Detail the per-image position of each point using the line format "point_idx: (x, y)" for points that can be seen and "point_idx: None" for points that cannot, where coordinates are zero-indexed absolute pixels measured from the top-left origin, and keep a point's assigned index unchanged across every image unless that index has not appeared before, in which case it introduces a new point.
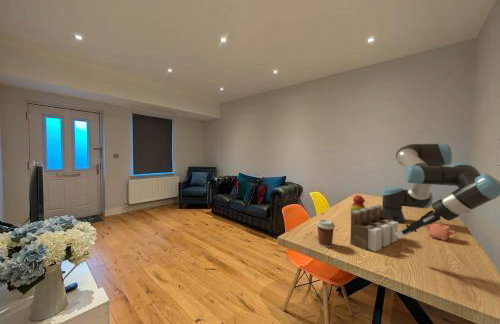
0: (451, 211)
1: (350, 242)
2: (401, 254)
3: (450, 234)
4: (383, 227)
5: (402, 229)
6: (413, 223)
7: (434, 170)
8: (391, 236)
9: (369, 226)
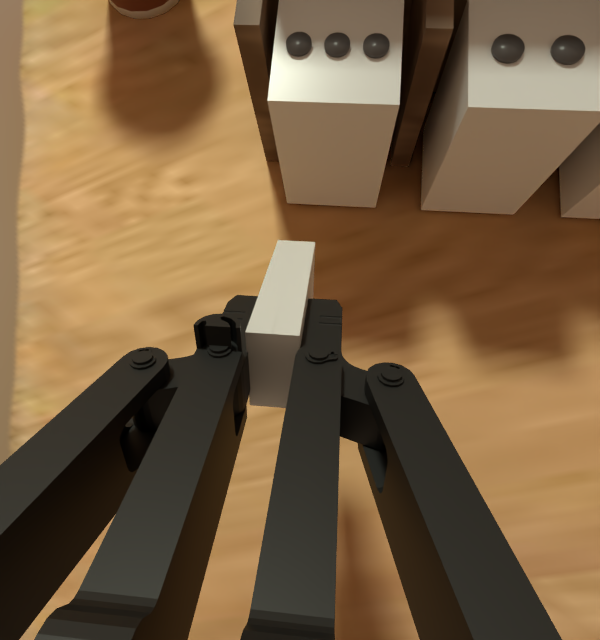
0: None
1: None
2: (404, 322)
3: None
4: (466, 97)
5: (260, 294)
6: (19, 459)
7: None
8: (591, 183)
9: (358, 13)
